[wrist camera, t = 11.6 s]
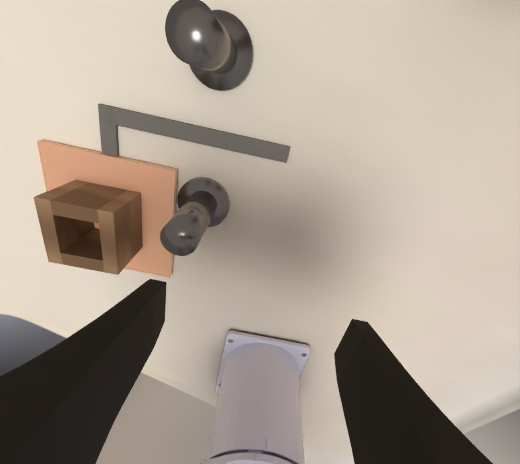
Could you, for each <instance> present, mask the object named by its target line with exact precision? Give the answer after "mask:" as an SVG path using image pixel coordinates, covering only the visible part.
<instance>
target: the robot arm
mask: <svg viewBox="0 0 520 464" xmlns="http://www.w3.org/2000/svg"><path fill="white" fill-rule="evenodd" d="M165 303H166V282H163V281H158V280H153V279H149V280H148V281H146V282H145V283H144V284H142V285H141V286H140V287H139V288H137V289H136V290H135V291H133V292H132V293H131V294H130V295H128V296H127V297H126V298H124V299H123V300H122V301H120V302H119V303H118V304H116V305H115V306H114V307H112V308H111V309H109V310H108V311H107V312H105V313H104V314H102V315H101V316H100V317H98V318H97V319H95V320H94V321H93V322H91V323H89V324H88V325H86V326H85V327H83V328H82V329H80V330H79V331H77V332H76V333H74V334H73V335H71V336H70V337H68V338H67V339H65V340H64V341H62V342H61V343H59V344H57V345H56V346H54V347H52V348H51V349H49V350H47V351H45V352H44V353H42V354H41V355H39V356H37V357H35V358H33V359H32V360H30V361H28V362H26V363H25V364H23V365H21V366H19V367H17V368H15V369H14V370H12V371H10V372H8V373H6V374H4V375H3V376H0V464H95V463H96V461H97V459H98V456H99V454H100V452H101V450H102V447H103V445H104V443H105V441H106V438H107V436H108V434H109V432H110V429H111V427H112V425H113V423H114V421H115V419H116V417H117V415H118V413H119V411H120V409H121V407H122V405H123V403H124V402H125V400H126V398H127V396H128V394H129V392H130V390H131V389H132V387H133V385H134V383H135V381H136V380H137V378H138V376H139V374H140V372H141V370H142V369H143V367H144V365H145V363H146V361H147V359H148V357H149V356H150V354H151V352H152V350H153V348H154V346H155V344H156V341H157V339H158V336H159V334H160V332H161V329H162V327H163V324H164V321H165ZM310 352H311V350H310V346H308V345H305V344H300V343H295V342H289V341H284V340H279V339H274V338H269V337H263V336H258V335H253V334H248V333H243V332H237V331H229V332H228V333H227V336H226V341H225V346H224V351H223V355H222V360H221V365H220V370H219V375H218V379H217V384H216V389H215V390H216V392H218V393H219V397H218V402H217V407H216V413H215V417H214V422H213V428H212V433H211V438H210V444H209V448H208V453H207V458H206V459H201V460H200V464H305V463H304V449H303V435H302V422H301V408H300V394H299V381H298V379H299V376H300V374H301V372H302V370H303V368H304V365H305V363H306V361H307V359H308V356H309V354H310ZM334 355H335V367H336V376H337V383H338V388H339V393H340V397H341V402H342V407H343V411H344V416H345V420H346V425H347V429H348V434H349V438H350V443H351V447H352V452H353V457H354V463H355V464H493V463H491V462H490V461H489V460H488V459H487V458H486V457H485V456H484V455H483V454H482V453H481V452H480V451H479V450H478V449H477V448H476V447H475V446H474V445H473V444H472V443H471V442H470V441H469V440H468V439H467V438H466V437H465V436H464V435H463V434H462V432H461V431H460V430H459V429H458V428H457V427H456V426H455V425H454V424H453V423H452V422H451V421H450V420H449V419H448V418H447V417H446V416H445V415H444V414H443V412H442V411H441V410H440V409H439V408H438V407H437V406H436V405H435V403H434V402H433V401H432V400H431V399H430V398H429V397H428V396H427V394H426V393H425V392H424V391H423V390H422V389H421V387H420V386H419V385H418V384H417V383H416V382H415V380H414V379H413V378H412V377H411V376H410V374H409V373H408V372H407V371H406V369H405V368H404V367H403V366H402V365H401V363H400V362H399V361H398V360H397V358H396V357H395V356H394V355H393V353H392V352H391V351H390V349H389V348H388V347H387V346H386V344H385V343H384V342H383V341H382V339H381V338H380V337H379V335H378V334H377V333H376V332H375V330H374V329H373V328H372V327H371V326H370V324H369V323H368V322H365V321H359V320H354V319H352V320H351V322H350V324H349V326H348V328H347V330H346V332H345V334H344V336H343V338H342V340H341V342H340V344H339V346H338V348H337V349H336V351H335V353H334Z"/></svg>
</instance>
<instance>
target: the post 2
mask: <svg viewBox="0 0 520 464" xmlns="http://www.w3.org/2000/svg"><path fill="white" fill-rule="evenodd" d="M178 207H179V210H178V211H177V212H176V213H175V215H174V216H173V217H172V218H171V219H170V220H169V222H168V223H167V224H166V225H165V226H164V227H163V229H162V230H161V233H160V241H161V243H162V245H163V247H164V248H165V249H166V250H167V251H169V252H170V253H172V254H174V255H178V256H186V255H189V254H191V253H193V252H194V251H195V249H196V247H197V245H198V244H199V242H200V240H201V238H202V236H203V234H204V232H205V230H206V228H207V227H212V226H215V225H217V224H219V223H220V222H222V221H223V220H224V218H225V217H226V215H227V213H228V210H229V198H228V195H227V193H226V191H225V189H224V188H223V187H222V186H221V185H220V184H219V183H217V182H216V181H214V180H212V179H209V178H203V177H200V178H194V179H191V180H190V181H188V182H187V183H185V184H184V185H183V187H182V188H181V189H180V191H179V194H178Z"/></svg>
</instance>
